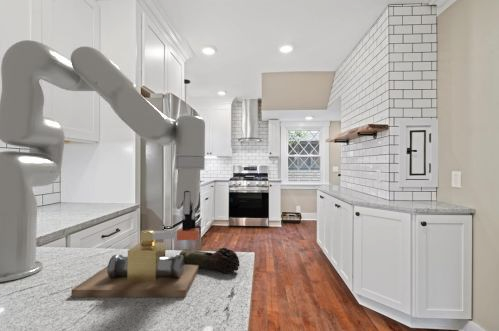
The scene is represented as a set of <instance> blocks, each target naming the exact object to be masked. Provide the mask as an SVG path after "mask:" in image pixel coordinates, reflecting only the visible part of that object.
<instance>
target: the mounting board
mask: <svg viewBox="0 0 499 331" xmlns="http://www.w3.org/2000/svg"><path fill="white" fill-rule="evenodd" d="M107 268H108V265H107V266H105V267H104V268H102V269H101V270H99V271H98V272H96V273H95V274H93V275H92V276H90V277H88V278H87V279H86V280H84V281H82V282H81V283H80V284H78V285H76V286H75V287H74V288H72V289H71V291H70V293H71V294H70V295H71V298H186V297H187V295H188V293H189V291H190V289H191V287H192V285H193V283H194V281H195V279H196V277H197V275H198V274H199V271H200V267H199V265H184V271H183V274H182V276H181V277H180V278H174V277H173V276H160V277H159V278H158V279H157V281H156V282H127V276H118V277H117V278H109V277H108V273H107Z"/></svg>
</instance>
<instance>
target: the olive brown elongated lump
mask: <svg viewBox="0 0 499 331" xmlns="http://www.w3.org/2000/svg"><path fill="white" fill-rule="evenodd" d="M178 255H183V256H184V265H199V268H206V269H213V270H216V271H219V272H222V273H224V274H225V275H227V274H229V272H230V271H231V272H237V271H238V270H239V267H240V260H239V256H238V255H237V253H236V252H235V251H234V250H232V249H228V248H227V247H222V248H219V250H216V251H215V252H207V251H201V250H195V249H187V248H184V249H182V250H181V251H180V253H179V254H178Z"/></svg>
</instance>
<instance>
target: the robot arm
mask: <svg viewBox="0 0 499 331" xmlns="http://www.w3.org/2000/svg"><path fill="white" fill-rule="evenodd" d="M0 74H1V93H0V94H1V95H0V141H1V142H3V143H4V144H6V145H10V146H14V147H21V148H28V149H29V150H28V151H29V152H27V151H16V150H15V151H14V150H13V151H12V150H6V151H0V283H3V282H10V281H13V280H19V279H22V278H25V277H29V276H32V275H34V274H36V273H38V272H40V271H41V270H43V268H44V264H43V262H42V261H39V260H37V258H36V257H37V229H38V228H37V226H38V221H37V220H38V218H37V217H38V202H37V198H36V195H35V193H34V191H33V189H32V188H34V187H44V186H49V185H52V184H53V183H54V182H55V181H57V180H58V178H59V177H60V175H61V174H60V173H61V170H62V164H63V156H64V147H65V140H66V139H65V132H64V128H63V127H62V126H61V123H59V122H58V121H56V120H55V119H54V118H51V117H47V116H44V104H45V94H44V92H43V88H42V86H41V83H40V81H41V80H43V81H44V82H46V83H48V84H51V85H53V86H55V87H57V88H60V89H63V90H65V91H71V92H96V93H97V95H99V96H100V97H101V98H102V99H103V100H104V101H105V102H106V103H108V104H109V106H110V108H111V109H112V110H113V111H114V113H115V115H117V116H118V117H119V119H120V120H121V121H122V122H123V123H124V124H125V125H127V126H128V127H129V128H130V129H131V130H132V131H133V132H134V133H136V134H137V136H139V137H140V138H141V139H142V140H145V141H147V142H150V143H153V144H156V145H159V146H164V147H165V146H166V147H168V146H175V147H174V148H175V149H174V152H175V154H174V170H178V172H177V177H176V180H177V182H176V198H175V208H176V209H177V210H180V209H181V208H182V220H181V221H182V223H181V224H182V227H181V229H191V228H196V223H197V221H196V208H197V207H198V205H199V200H200V186H201V185H200V184H201V170H202V171H204V170H205V166H206V165H205V164H206V163H205V162H206V161H205V157H206V156H205V153H206V149H205V148H206V146H205V145H206V143H205V142H206V123H205V122H206V121H205V120H204V119H203V118H202V117H200V116H196V115H181V116H179V117H177V118H176V119H172V118H170V117H168V116H167V115H165V114H164V113H162V112H161V111H160V110H158V109H157V107H155V106H154V105H153V104H152V103H151V102H149V101H148V100H147V99H146V98H145V97H144V96H143V95H142V94H141V93H140V91H138V90H137V85H136V84H135V82H134V81H133V80H131V79H130V77H128V76H127V75H126V74H125V73H124V72H123V71H122V70H121V69H120V68H119V66H118V65H117V64H116V63H114V62H113V61H112V60H111V59H110V58H108V57H107V56H106V55H105V54H104V53H102V52H101V51H99V50H98V49H96V48H94V47H91V46H80V47H77V48H75V49H74V50H73V51H72V53H71V54H70V59H69V58H68V57H66V56H65V55H63V54H62V53H60V52H59V51H57V50H55V49H53V48H51V47H50V46H48V45H46V44H43V43H42V42H38V41H34V40H30V39H29V40H28V39H25V40H20V41H18V42H16V43H14V44H12V45H11V46H10V47H8V49H7V50H6V51H5V53H4V55H3V57H2V60H1V66H0Z"/></svg>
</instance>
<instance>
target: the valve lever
mask: <svg viewBox="0 0 499 331" xmlns="http://www.w3.org/2000/svg"><path fill="white" fill-rule="evenodd" d="M199 232H200V228H199V227H198V228H191V229H182V228H178V229H175V230H154V229H145V230H141V231H140V242H141V246H144V247H146V246H153V245H155V243H156V240H177V241H193V240H194V241H195V240H199V237H200V235H199Z"/></svg>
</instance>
